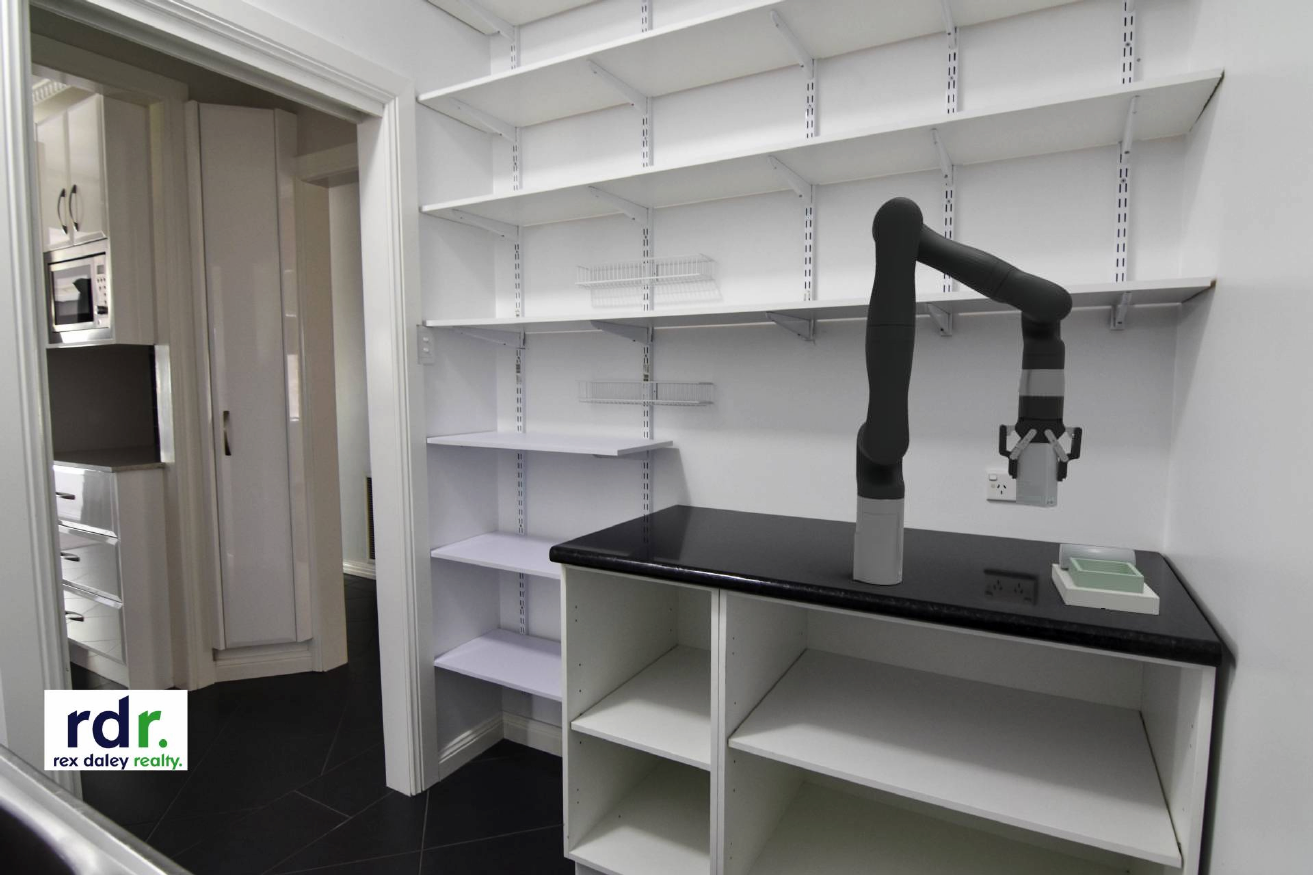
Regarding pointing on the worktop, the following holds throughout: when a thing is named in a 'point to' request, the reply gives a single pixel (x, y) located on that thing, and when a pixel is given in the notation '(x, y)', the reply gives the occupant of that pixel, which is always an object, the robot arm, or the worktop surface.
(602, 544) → the worktop surface
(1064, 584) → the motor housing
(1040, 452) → the skincare box
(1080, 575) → the green piece
